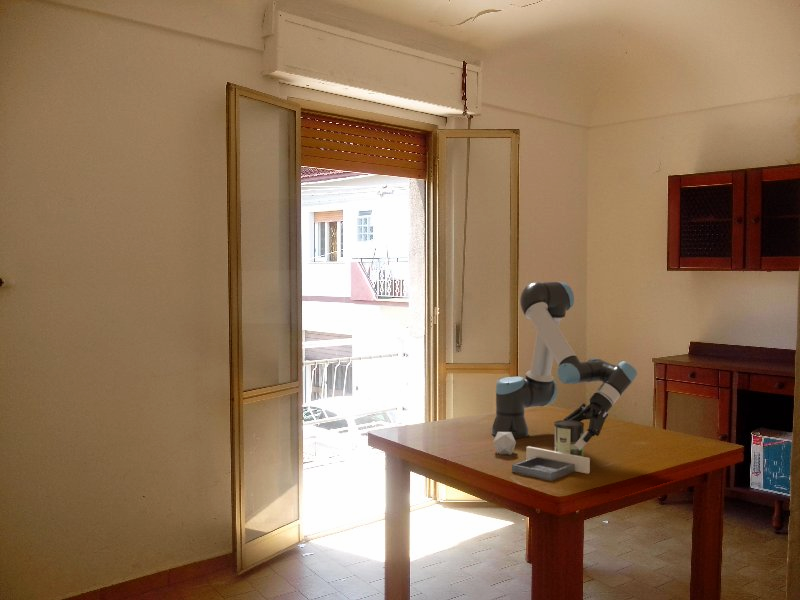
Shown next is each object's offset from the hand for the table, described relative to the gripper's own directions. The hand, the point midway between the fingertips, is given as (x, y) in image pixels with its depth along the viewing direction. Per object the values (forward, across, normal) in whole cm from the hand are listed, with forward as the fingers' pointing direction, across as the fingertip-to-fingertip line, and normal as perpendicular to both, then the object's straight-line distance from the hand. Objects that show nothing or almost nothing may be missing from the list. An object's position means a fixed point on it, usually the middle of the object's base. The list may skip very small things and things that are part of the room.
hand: (566, 443), depth 251 cm
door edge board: (+9, -4, -1) cm, 10 cm away
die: (+16, +19, +6) cm, 25 cm away
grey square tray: (+14, -8, +5) cm, 17 cm away
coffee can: (+4, 0, -6) cm, 7 cm away
